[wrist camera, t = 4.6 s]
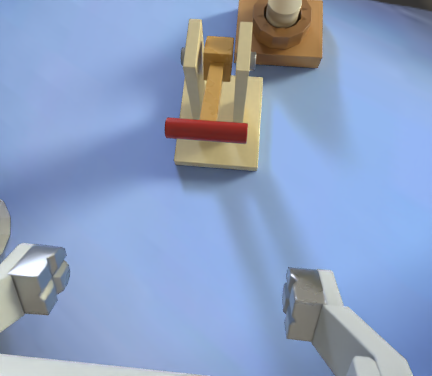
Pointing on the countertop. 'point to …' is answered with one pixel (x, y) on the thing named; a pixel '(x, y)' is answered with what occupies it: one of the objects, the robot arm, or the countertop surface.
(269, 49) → the button block
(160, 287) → the countertop surface
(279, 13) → the button
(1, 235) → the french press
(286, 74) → the countertop surface
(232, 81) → the crank bracket
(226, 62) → the lever
